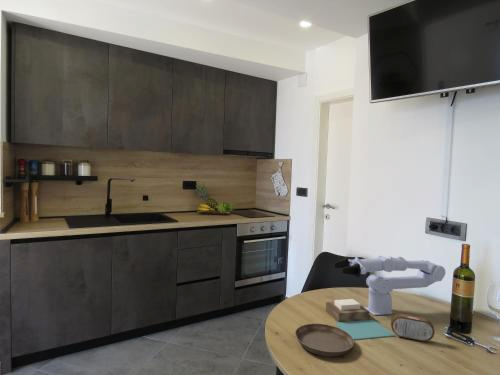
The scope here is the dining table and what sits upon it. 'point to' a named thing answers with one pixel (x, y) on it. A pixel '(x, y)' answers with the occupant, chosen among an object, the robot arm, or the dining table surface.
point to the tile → (347, 304)
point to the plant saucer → (324, 339)
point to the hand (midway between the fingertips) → (338, 267)
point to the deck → (347, 313)
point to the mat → (364, 329)
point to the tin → (412, 327)
